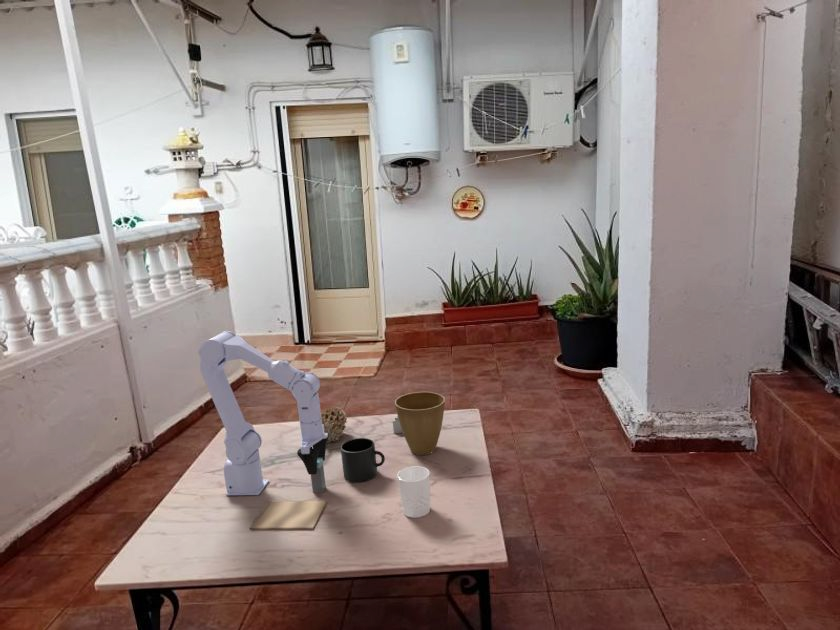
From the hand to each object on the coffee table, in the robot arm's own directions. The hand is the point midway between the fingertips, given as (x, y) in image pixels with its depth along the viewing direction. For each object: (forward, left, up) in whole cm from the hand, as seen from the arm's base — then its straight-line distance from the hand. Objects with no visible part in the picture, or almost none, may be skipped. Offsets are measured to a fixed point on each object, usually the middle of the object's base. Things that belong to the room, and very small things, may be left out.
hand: (316, 466), depth 160 cm
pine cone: (-5, +29, -7) cm, 30 cm away
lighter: (+18, +37, -7) cm, 42 cm away
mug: (+11, +8, -7) cm, 15 cm away
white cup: (+28, -11, -7) cm, 31 cm away
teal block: (0, 0, -7) cm, 7 cm away
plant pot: (+26, +23, -7) cm, 35 cm away
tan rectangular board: (-4, -13, -7) cm, 15 cm away
